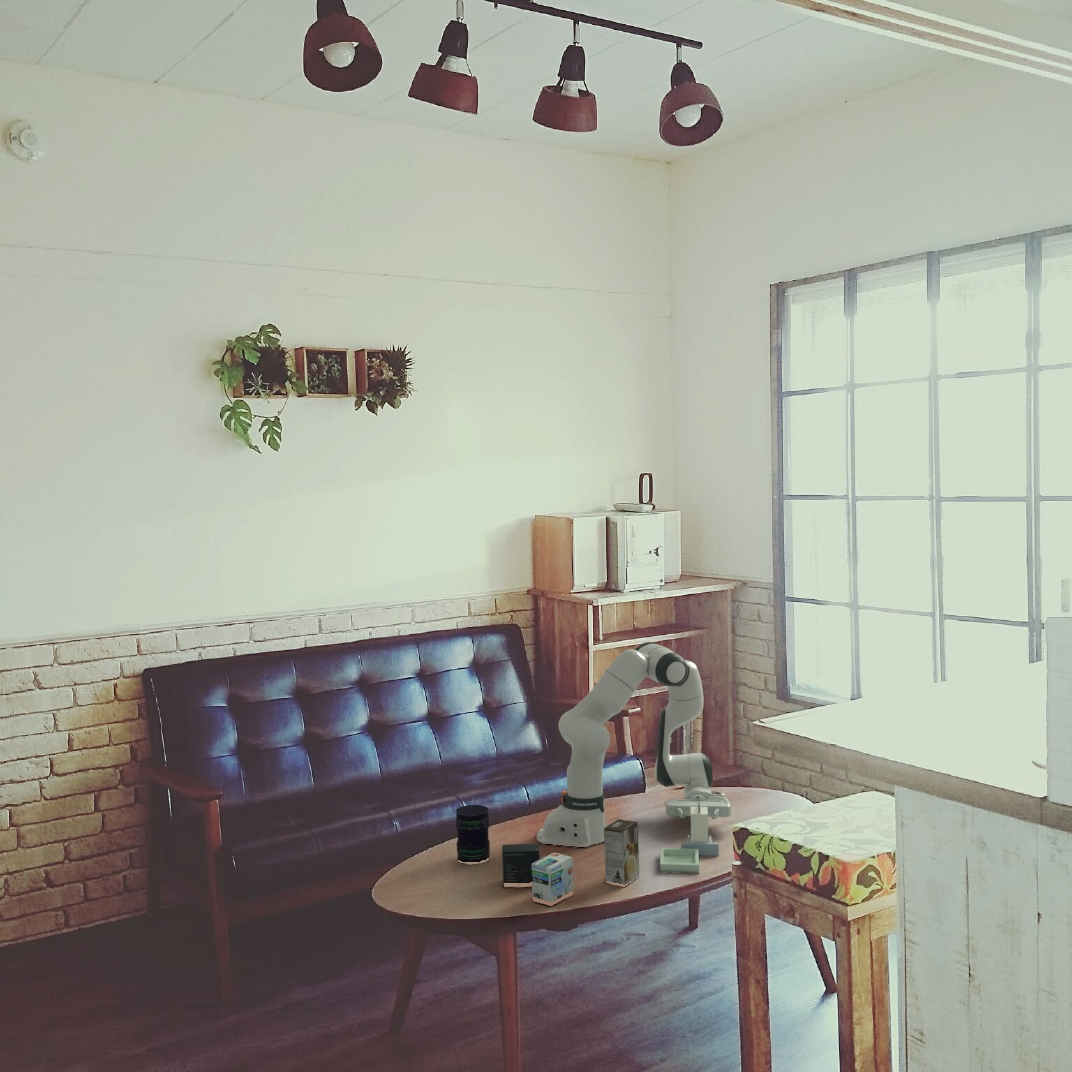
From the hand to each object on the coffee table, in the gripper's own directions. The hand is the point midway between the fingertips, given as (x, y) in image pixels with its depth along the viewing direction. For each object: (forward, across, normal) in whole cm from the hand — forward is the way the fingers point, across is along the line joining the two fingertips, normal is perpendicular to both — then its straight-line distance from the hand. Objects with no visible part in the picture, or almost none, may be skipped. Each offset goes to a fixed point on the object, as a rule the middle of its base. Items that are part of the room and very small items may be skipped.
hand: (698, 816), depth 347 cm
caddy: (+8, 0, +8) cm, 11 cm away
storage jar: (+20, -67, +8) cm, 70 cm away
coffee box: (+34, -22, +8) cm, 42 cm away
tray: (+21, -6, +8) cm, 23 cm away
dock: (+8, 0, +7) cm, 11 cm away
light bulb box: (+48, -40, +8) cm, 63 cm away
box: (+38, -50, +8) cm, 63 cm away
